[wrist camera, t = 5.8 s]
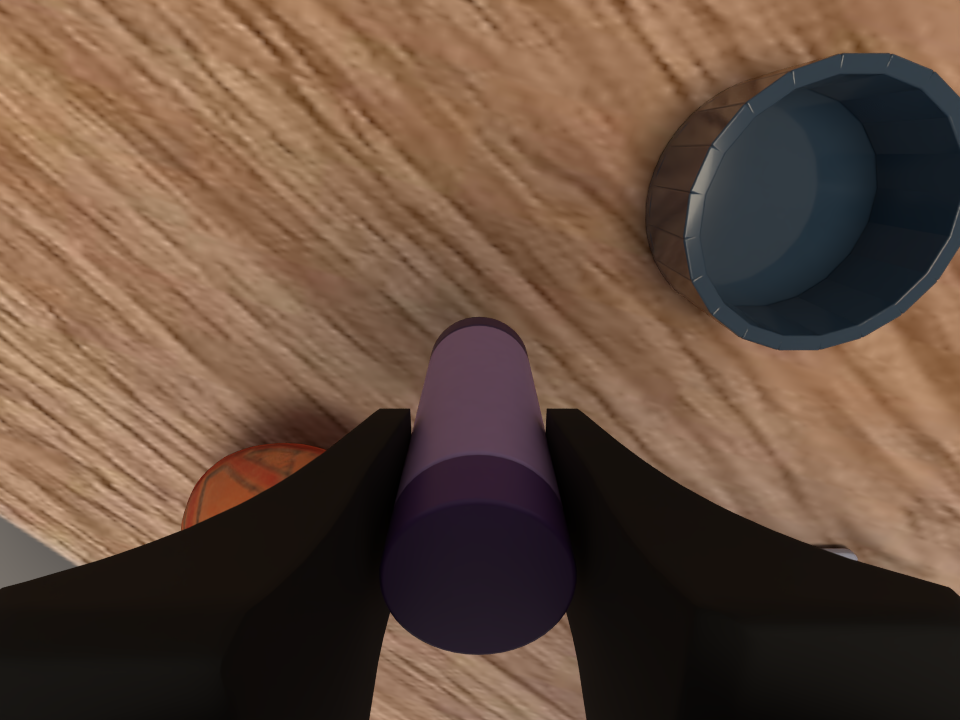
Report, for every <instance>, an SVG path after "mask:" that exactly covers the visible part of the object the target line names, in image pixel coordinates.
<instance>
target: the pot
mask: <svg viewBox="0 0 960 720" xmlns="http://www.w3.org/2000/svg"><path fill="white" fill-rule="evenodd" d="M325 451H326V450H325V449H321V448H318V447H314V446H310V445H305V444H293V443H275V444H265V445H258V446H253V447H249V448H246V449H243V450H240V451H237V452H235V453H233V454H230V455H228V456H226V457H224V458H223V459H221V460H220V461H219V462H217V463H216V464H215V465H214V466H212V467H211V468H210V469H209V470H208V471H207V472H206V473H205V474H204V475H203V476H202V477H201V478H200V480H199V481H198V482H197V484H196V485H195V487H194V489H193V491H192V493H191V495H190V498H189V500H188V503H187V506H186V509H185V512H184V516H183V520H182V526H181V530H184V529H186V528H189V527H191V526H193V525H195V524H197V523H200V522H202V521H204V520H206V519H208V518H211V517H213V516H215V515H217V514H219V513H221V512H224V511H226V510H228V509H230V508H232V507H235V506H237V505H239V504H241V503H243V502H245V501H247V500H249V499H250V498H252V497H254V496H256V495H258V494H259V493H261V492H263V491H265V490H267V489H269V488H270V487H272V486H274V485H275V484H277V483H279V482H280V481H282V480H284V479H285V478H287V477H289V476H290V475H292V474H293V473H295V472H296V471H298V470H299V469H301V468H302V467H303V466H305V465H306V464H308V463H309V462H311V461H312V460H313V459H315V458H316V457H318V456H319V455H321V454H322V453H324V452H325Z"/></svg>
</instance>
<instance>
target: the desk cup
mask: <svg viewBox="0 0 960 720" xmlns="http://www.w3.org/2000/svg"><path fill="white" fill-rule="evenodd" d="M646 228H647V236H648V241H649V245H650V249H651V252H652V255H653V257H654V260H655V262H656V264H657V266H658V268H659V270H660V271H661V273H662V275H663V276H664V277H665V279H666V280H667V281H668V283H669V284H670V285H671V286H672V287H673V288H674V289H675V290H676V291H677V292H678V293H679V294H681V295H682V296H683V297H685V298H686V299H687V300H689V301H690V302H691V303H692V304H694V305H695V306H696V307H697V308H699V309H700V310H702V311H703V312H705V313H706V314H707V315H709V316H710V317H712V318H713V319H714V320H716V321H717V322H719V323H720V324H721V325H723V326H724V327H726V328H727V329H728V330H730V331H731V332H733V333H734V334H736V335H737V336H738V337H741V338H742V339H745V340H748V341H751V342H754V343H757V344H760V345H763V346H766V347H769V348H772V349H778V350H819V349H825V348H828V347H832V346H835V345H839V344H842V343H846V342H849V341H853V340H857V339H860V338H861V337H864V336H866V335H868V334H870V333H871V332H873V331H875V330H877V329H878V328H880V327H882V326H883V325H885V324H887V323H889V322H890V321H892V320H894V319H896V318H897V317H899V316H901V315H902V314H903V313H905V312H906V311H907V310H908V309H909V308H910V307H911V306H912V305H913V304H914V303H915V302H916V301H917V300H918V299H919V298H920V297H921V296H922V295H923V294H925V293H926V292H927V291H928V290H929V289H930V288H931V287H932V286H933V285H934V284H935V283H936V282H937V280H938V279H939V278H940V277H941V275H942V274H943V272H944V271H945V269H946V267H947V266H948V264H949V263H950V261H951V260H952V258H953V257H954V255H955V253H956V252H957V250H958V249H959V247H960V97H959V96H958V95H957V94H956V93H955V92H954V91H953V90H952V89H951V88H950V87H949V85H948V84H947V83H946V82H945V81H944V80H943V79H942V78H941V77H940V76H939V75H938V74H937V73H936V72H933V70H932V69H929V68H927V67H924V66H922V65H919V64H917V63H914V62H912V61H909V60H907V59H905V58H902V57H900V56H897V55H895V54H890V53H841V54H836V55H832V56H829V57H825V58H821V59H818V60H814V61H811V62H807V63H803V64H800V65H796V66H793V67H789V68H785V69H782V70H778V71H775V72H771V73H768V74H765V75H762V76H760V77H757V78H753V79H750V80H747V81H745V82H742V83H739V84H736V85H734V86H732V87H730V88H728V89H726V90H724V91H722V92H720V93H719V94H717V95H716V96H715V97H713V98H712V99H710V100H709V101H707V102H706V103H704V104H703V105H702V106H701V107H700V108H699V109H697V110H696V111H695V112H694V113H693V114H692V115H691V116H690V117H689V118H688V119H687V120H686V121H685V122H684V123H683V124H682V125H681V127H680V128H679V129H678V130H677V132H676V133H675V134H674V136H673V137H672V139H671V140H670V141H669V143H668V145H667V146H666V148H665V150H664V152H663V153H662V155H661V157H660V159H659V162H658V164H657V166H656V169H655V171H654V174H653V177H652V180H651V184H650V187H649V192H648V198H647V204H646Z"/></svg>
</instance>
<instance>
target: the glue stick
mask: <svg viewBox="0 0 960 720" xmlns="http://www.w3.org/2000/svg"><path fill="white" fill-rule="evenodd" d="M379 582H380V588H381V592H382V595H383V598H384V601H385V603H386V605H387V607H388V609H389V611H390V612H391V614H392V615H393V617H394V618H395V619H396V620H397V622H398V623H399V624H400V625H401V626H402V627H403V628H404V629H406V630H407V631H408V632H409V633H411V634H412V635H413V636H415V637H416V638H418V639H420V640H421V641H423V642H425V643H427V644H429V645H431V646H434V647H437V648H440V649H443V650H446V651H450V652H454V653H461V654H472V655H484V654H495V653H502V652H506V651H510V650H514V649H517V648H519V647H522V646H525V645H527V644H529V643H531V642H533V641H535V640H537V639H538V638H540V637H541V636H543V635H544V634H546V633H547V632H548V631H549V630H551V629H552V628H553V627H554V626H555V625H556V624H557V623H558V622H559V621H560V620H561V618H562V617H563V615H564V614H565V613H566V611H567V609H568V607H569V605H570V603H571V601H572V598H573V595H574V592H575V588H576V582H577V568H576V562H575V557H574V553H573V549H572V544H571V540H570V536H569V531H568V527H567V523H566V518H565V514H564V511H563V506H562V501H561V497H560V493H559V488H558V484H557V480H556V476H555V471H554V467H553V463H552V459H551V455H550V451H549V446H548V442H547V438H546V433H545V428H544V424H543V420H542V415H541V411H540V407H539V402H538V398H537V394H536V390H535V385H534V381H533V377H532V372H531V368H530V364H529V359H528V355H527V351H526V348H525V345H524V343H523V341H522V340H521V338H520V337H519V335H518V334H517V333H516V332H515V331H514V330H513V329H512V328H510V327H509V326H508V325H506V324H504V323H502V322H500V321H498V320H495V319H492V318H486V317H472V318H467V319H464V320H460V321H458V322H456V323H454V324H453V325H451V326H449V327H448V328H447V329H446V330H445V331H444V332H443V333H442V334H441V335H440V336H439V338H438V339H437V341H436V343H435V345H434V347H433V350H432V353H431V357H430V362H429V366H428V370H427V374H426V378H425V382H424V386H423V390H422V394H421V398H420V402H419V406H418V410H417V414H416V418H415V423H414V427H413V431H412V435H411V439H410V443H409V447H408V451H407V456H406V460H405V463H404V467H403V471H402V475H401V480H400V484H399V488H398V492H397V496H396V500H395V504H394V509H393V512H392V516H391V520H390V524H389V528H388V532H387V536H386V541H385V545H384V549H383V553H382V557H381V562H380V568H379Z"/></svg>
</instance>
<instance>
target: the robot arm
mask: <svg viewBox="0 0 960 720" xmlns="http://www.w3.org/2000/svg"><path fill="white" fill-rule="evenodd" d="M546 438H547V442H548V446H549V451H550V455H551V459H552V463H553V467H554V471H555V476H556V480H557V484H558V488H559V493H560V497H561V501H562V506H563V511H564V514H565V518H566V523H567V527H568V531H569V536H570V540H571V544H572V549H573V553H574V557H575V562H576V568H577V582H576V588H575V592H574V595H573V598H572V601H571V603H570V605H569V607H568V609H567V611H566V613H567V617H568V621H569V625H570V629H571V633H572V636H573V641H574V646H575V651H576V655H577V660H578V666H579V673H580V679H581V686H582V693H583V699H584V706H585V713H586V719H587V720H960V596H959V595H958V594H956V593H955V592H954V591H953V590H952V589H951V588H949V587H946V586H942V585H939V584H935V583H932V582H929V581H925V580H922V579H918V578H915V577H911V576H908V575H904V574H901V573H897V572H894V571H890V570H887V569H883V568H880V567H876V566H873V565H869V564H866V563H862V562H859V561H857V560H858V558H857V556H856V555H855V554H854V553H853V552H852V551H851V550H849V549H845V548H818V547H815V546H812V545H810V544H807V543H804V542H801V541H799V540H796V539H794V538H791V537H789V536H786V535H783V534H781V533H778V532H776V531H773V530H771V529H769V528H766V527H764V526H762V525H760V524H757V523H755V522H753V521H751V520H748V519H746V518H744V517H742V516H739V515H737V514H735V513H733V512H731V511H729V510H727V509H725V508H723V507H721V506H719V505H717V504H715V503H713V502H711V501H709V500H707V499H705V498H704V497H702V496H700V495H698V494H696V493H695V492H693V491H691V490H689V489H687V488H685V487H684V486H682V485H680V484H679V483H677V482H675V481H674V480H672V479H670V478H669V477H667V476H666V475H664V474H663V473H661V472H660V471H658V470H657V469H655V468H654V467H652V466H651V465H649V464H648V463H646V462H645V461H644V460H642V459H641V458H639V457H638V456H637V455H635V454H634V453H633V452H631V451H630V450H629V449H627V448H626V447H625V446H623V445H622V444H621V443H620V442H618V441H617V440H616V439H614V438H613V437H612V436H611V435H609V434H608V433H607V432H606V431H605V430H603V429H602V428H601V427H600V426H598V425H597V424H596V423H595V422H594V421H592V420H591V419H590V418H589V417H588V416H586V415H585V414H584V413H583V412H581V411H580V410H578V409H547V414H546ZM410 439H411V416H410V409H379V410H377V411H376V412H375V413H373V414H372V415H371V416H369V417H368V418H367V419H366V420H364V421H363V422H362V423H361V424H360V425H358V426H357V427H356V428H355V429H353V430H352V431H351V432H350V433H348V434H347V435H346V436H345V437H343V438H342V439H341V440H339V441H338V442H337V443H336V444H334V445H333V446H332V447H330V448H329V449H328V450H326V451H325V452H324V453H322V454H321V455H319V456H318V457H316V458H315V459H313V460H312V461H311V462H309V463H308V464H306V465H305V466H303V467H302V468H301V469H299V470H298V471H296V472H295V473H293V474H292V475H290V476H289V477H287V478H285V479H284V480H282V481H280V482H279V483H277V484H275V485H274V486H272V487H270V488H269V489H267V490H265V491H263V492H261V493H259V494H258V495H256V496H254V497H252V498H250V499H249V500H247V501H245V502H243V503H241V504H239V505H237V506H235V507H232V508H230V509H228V510H226V511H224V512H221V513H219V514H217V515H215V516H213V517H211V518H208V519H206V520H204V521H202V522H200V523H197V524H195V525H193V526H191V527H189V528H186V529H184V530H181V531H179V532H176V533H174V534H171V535H169V536H166V537H164V538H161V539H158V540H156V541H153V542H151V543H148V544H145V545H142V546H139V547H137V548H134V549H131V550H128V551H125V552H122V553H120V554H117V555H114V556H111V557H107V558H104V559H101V560H98V561H95V562H92V563H88V564H85V565H81V566H78V567H75V568H71V569H68V570H64V571H61V572H57V573H54V574H51V575H47V576H44V577H40V578H37V579H33V580H30V581H26V582H23V583H19V584H15V585H12V586H8V587H4V588H1V589H0V720H369V717H370V711H371V705H372V698H373V692H374V686H375V679H376V673H377V666H378V661H379V656H380V651H381V647H382V642H383V637H384V634H385V630H386V626H387V622H388V618H389V614H390V611H389V609H388V607H387V605H386V603H385V601H384V598H383V595H382V592H381V588H380V582H379V568H380V562H381V557H382V553H383V549H384V545H385V541H386V536H387V532H388V528H389V524H390V520H391V516H392V512H393V509H394V504H395V500H396V496H397V492H398V488H399V484H400V480H401V475H402V471H403V467H404V463H405V460H406V456H407V451H408V447H409V443H410Z"/></svg>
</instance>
